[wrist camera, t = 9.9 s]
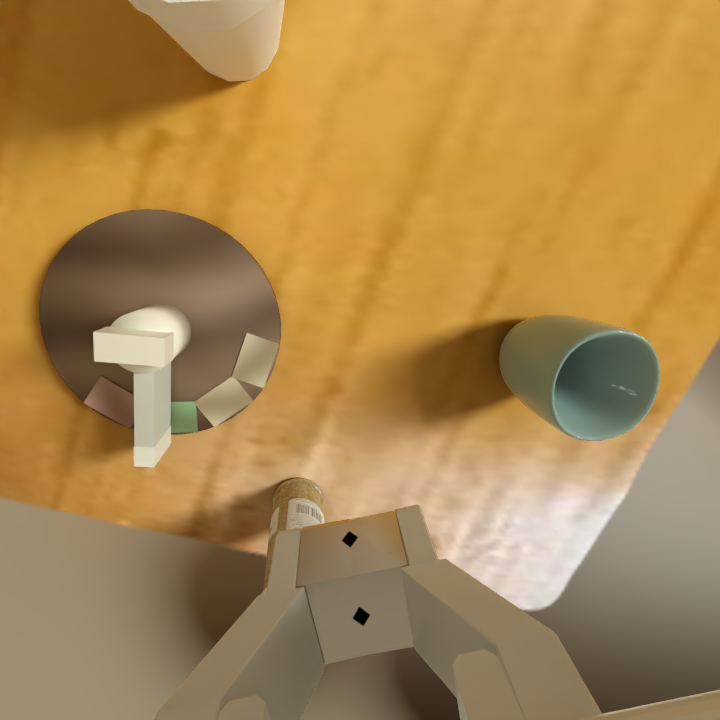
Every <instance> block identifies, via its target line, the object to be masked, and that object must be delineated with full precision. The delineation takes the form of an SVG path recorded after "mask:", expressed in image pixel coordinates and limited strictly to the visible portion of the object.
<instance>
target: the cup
mask: <svg viewBox="0 0 720 720" xmlns="http://www.w3.org/2000/svg"><path fill="white" fill-rule="evenodd" d="M499 367H500V371H501V375H502V377H503V379H504V381H505V383H506V385H507V387H508V388H509V389H510V390H511V392H512V393H513V394H514V395H515V396H516V397H517V398H518V399H519V400H520V401H521V402H522V403H523V404H524V405H525V406H527V407H528V408H529V409H530V410H532V411H533V412H534V413H536V414H537V415H538V416H540V417H541V418H542V419H544V420H545V421H547V422H548V423H549V424H551V425H552V426H554V427H555V428H557V429H558V430H560V431H561V432H563V433H564V434H566V435H568V436H570V437H573V438H576V439H579V440H585V441H601V440H606V439H611V438H614V437H617V436H619V435H622V434H624V433H626V432H628V431H629V430H631V429H633V428H634V427H635V426H636V425H637V424H639V423H640V422H641V421H642V420H643V418H644V417H645V416H646V415H647V414H648V412H649V410H650V408H651V407H652V405H653V403H654V400H655V398H656V395H657V392H658V387H659V381H660V368H659V361H658V358H657V355H656V352H655V350H654V348H653V347H652V345H651V344H650V342H649V341H647V340H646V339H645V338H644V337H642V336H641V335H639V334H637V333H634V332H632V331H630V330H627V329H624V328H621V327H617V326H614V325H610V324H606V323H602V322H598V321H594V320H589V319H584V318H579V317H573V316H567V315H540V316H535V317H531V318H528V319H526V320H523V321H521V322H519V323H518V324H516V325H515V326H514V327H513V328H512V329H510V331H509V332H508V333H507V335H506V336H505V338H504V340H503V342H502V345H501V349H500V354H499Z"/></svg>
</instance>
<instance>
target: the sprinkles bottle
mask: <svg viewBox="0 0 720 720" xmlns="http://www.w3.org/2000/svg"><path fill="white" fill-rule="evenodd" d="M323 523H324V516H323V494H322V491H321V489H320V488H319V487H318V486H317V485H316V484H315V483H314V482H312V481H311V480H308V479H304V478H294V479H290V480H287V481H285V482H283V483H282V484H281V485H280V486H279V487H278V488H277V490H276V491H275V493H274V496H273V513H272V518H271V523H270V532H269V540H268V551H267V567H266V574H265V582H264V589H263V592H262V594H261V595H263V594H266V591H267V585H268V579H269V574H270V568H271V562H272V556H273V550H274V545H275V539H276V536H277V534H278V532H279V531H284V530H289V529H295V528H300V527H301V528H303V527H305V526H311V525H317V524H323Z"/></svg>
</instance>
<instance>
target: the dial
mask: <svg viewBox="0 0 720 720" xmlns="http://www.w3.org/2000/svg"><path fill="white" fill-rule="evenodd" d="M153 304H168V305H171V306H173V307H175V308H177V309H179V310H180V311H181V312H182V313H183V314H184V315H185V316H186V318H187V319H188V321H189V323H190V326H191V339H190V342H189V344H188V345H187V347H186V348H185V349H184V350H183V351H182V352H181V353H179V354H178V355H177V356H176V357H175V358H174V359H173V360H172V361H171V419H170V426H171V434H186V433H194V432H198V431H202V430H206V429H209V428H212V427H216V426H217V425H220V424H222V423H223V422H225V421H227V420H229V419H231V418H233V417H234V416H236V415H237V414H238V413H240V412H241V411H243V410H244V409H245V408H246V407H247V406H248V405H249V404H250V403H251V402H253V400H254V399H255V398H256V397H257V396H258V394H259V393H260V392H261V391H262V389H263V388H264V386H265V384H266V383H267V381H268V379H269V377H270V375H271V373H272V370H273V368H274V365H275V362H276V358H277V355H278V351H279V345H280V338H281V321H280V313H279V308H278V304H277V300H276V296H275V294H274V291H273V289H272V286H271V284H270V282H269V280H268V278H267V276H266V275H265V273H264V271H263V269H262V268H261V267H260V265H259V264H258V263H257V261H256V260H255V259H254V257H253V256H252V255H251V254H250V253H249V252H248V251H247V250H246V249H245V248H244V247H243V246H242V245H241V244H240V243H239V242H237V241H236V240H235V239H234V238H233V237H231V236H230V235H228V234H227V233H225V232H224V231H222V230H221V229H219V228H217V227H216V226H213V225H211V224H209V223H207V222H205V221H203V220H200V219H197V218H194V217H191V216H188V215H185V214H181V213H176V212H171V211H165V210H151V209H146V210H131V211H127V212H122V213H117V214H113V215H111V216H108V217H105V218H102V219H100V220H98V221H96V222H94V223H92V224H90V225H89V226H87V227H85V228H84V229H82V230H81V231H80V232H78V233H77V234H76V235H74V236H73V237H72V238H71V239H70V240H69V241H68V242H67V243H66V244H65V245H64V246H63V247H62V249H61V250H60V252H59V253H58V254H57V256H56V257H55V259H54V260H53V262H52V264H51V266H50V268H49V270H48V272H47V274H46V277H45V280H44V284H43V287H42V292H41V298H40V325H41V332H42V336H43V340H44V343H45V347H46V350H47V352H48V354H49V357H50V359H51V361H52V363H53V365H54V367H55V368H56V370H57V372H58V373H59V375H60V377H61V378H62V379H63V380H64V382H65V383H66V384H67V386H68V387H69V388H70V389H71V390H72V391H73V392H74V393H75V394H76V395H77V396H78V397H79V398H80V399H81V400H82V401H83V402H84V404H86V405H88V406H89V407H91V408H92V409H93V410H95V411H96V412H98V413H99V414H101V415H103V416H104V417H106V418H108V419H110V420H112V421H114V422H116V423H118V424H120V425H123V426H126V427H127V428H129V429H130V428H132V429H134V372H131V371H129V370H126V369H125V368H123V367H121V366H120V365H119V364H118V363H108V362H95V361H94V343H93V332H94V331H97V330H99V329H102V328H105V327H110V326H111V325H112V324H113V322H114V321H115V320H116V319H118V318H119V317H121V316H123V315H125V314H128V313H131V312H133V311H136V310H139V309H142V308H144V307H147V306H150V305H153Z"/></svg>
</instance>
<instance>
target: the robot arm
mask: <svg viewBox="0 0 720 720" xmlns="http://www.w3.org/2000/svg"><path fill="white" fill-rule="evenodd" d="M408 647H414V648H415V650H416V651H417V652H418V653H419V655H420V656H421V657H422V658H423V659H424V660H425V661H426V663H427V664H428V665H429V666H430V667H431V668H432V670H433V671H434V672H435V673H436V674H437V675H438V676H439V678H440V679H441V680H442V681H443V682H444V683H445V684H446V686H447V687H448V688H449V689H450V690H451V691H452V693H453V694H454V695H455V696H456V697H457V699H458V707H459V714H460V720H720V690H716V691H711V692H706V693H701V694H696V695H691V696H687V697H682V698H677V699H672V700H667V701H663V702H658V703H653V704H648V705H643V706H638V707H633V708H629V709H624V710H619V711H614V712H609V713H604V714H602V713H601V711H600V709H599V708H598V706H597V704H596V702H595V701H594V699H593V697H592V696H591V694H590V692H589V690H588V689H587V687H586V685H585V683H584V682H583V680H582V678H581V676H580V675H579V673H578V671H577V669H576V668H575V666H574V664H573V662H572V661H571V659H570V657H569V656H568V654H567V652H566V650H565V649H564V647H563V645H562V643H561V642H560V640H559V638H558V636H557V635H556V633H555V632H553V631H552V630H550V629H549V628H547V627H546V626H544V625H543V624H541V623H540V622H538V621H537V620H535V619H534V618H532V617H531V616H529V615H528V614H527V613H525V612H524V611H522V610H521V609H519V608H518V607H516V606H515V605H513V604H512V603H510V602H509V601H507V600H506V599H504V598H503V597H501V596H500V595H498V594H497V593H496V592H494V591H493V590H491V589H490V588H488V587H487V586H485V585H484V584H482V583H481V582H479V581H478V580H476V579H475V578H473V577H472V576H470V575H469V574H467V573H466V572H464V571H463V570H462V569H460V568H459V567H457V566H456V565H454V564H453V563H451V562H450V561H448V560H447V559H442V560H438V557H437V554H436V552H435V549H434V546H433V543H432V540H431V537H430V534H429V531H428V528H427V526H426V523H425V520H424V517H423V514H422V511H421V508H420V506H418V505H413V506H409V507H404V508H400V509H395V511H390V512H385V513H380V514H375V515H370V516H364V517H359V518H354V519H347V520H341V521H335V522H329V523H323V524H317V525H311V526H305V527H303V528H301V527H300V528H295V529H289V530H284V531H279V532H278V534H277V536H276V539H275V545H274V550H273V556H272V562H271V568H270V574H269V579H268V585H267V591H266V594H263V595H259V596H258V597H257V598H256V599H255V600H254V601H253V603H252V604H251V605H250V606H249V607H248V608H247V609H246V611H245V612H244V613H243V614H242V615H241V616H240V618H239V619H238V620H237V621H236V622H235V623H234V624H233V626H232V627H231V628H230V629H229V630H228V631H227V633H226V634H225V635H224V636H223V637H222V638H221V639H220V641H219V642H218V643H217V644H216V645H215V646H214V648H213V649H212V650H211V651H210V652H209V653H208V654H207V656H206V657H205V658H204V659H203V660H202V661H201V663H200V664H199V665H198V666H197V667H196V668H195V669H194V671H193V672H192V673H191V674H190V675H189V676H188V678H187V679H186V680H185V681H184V682H183V683H182V685H181V686H180V687H179V688H178V689H177V690H176V691H175V692H174V694H173V695H172V696H171V697H170V698H169V699H168V701H167V702H166V703H165V704H164V705H163V707H162V708H161V709H160V710H159V711H158V712H157V715H156V718H155V720H300V718H301V716H302V714H303V712H304V710H305V708H306V706H307V704H308V702H309V700H310V698H311V696H312V694H313V692H314V689H315V687H316V685H317V683H318V681H319V679H320V677H321V675H322V673H323V671H324V668H325V666H324V665H325V664H329V663H333V662H337V661H342V660H346V659H350V658H354V657H359V656H363V655H367V654H373V653H379V652H385V651H390V650H397V649H402V648H408Z"/></svg>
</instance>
